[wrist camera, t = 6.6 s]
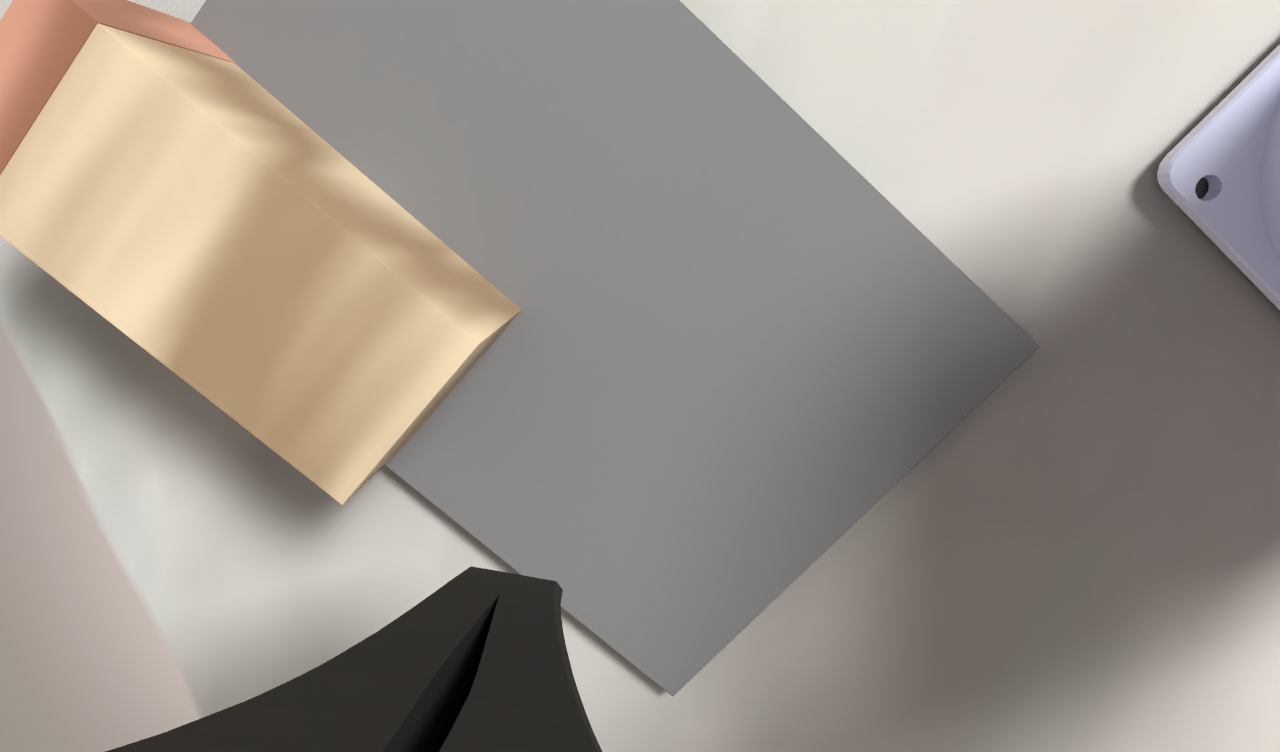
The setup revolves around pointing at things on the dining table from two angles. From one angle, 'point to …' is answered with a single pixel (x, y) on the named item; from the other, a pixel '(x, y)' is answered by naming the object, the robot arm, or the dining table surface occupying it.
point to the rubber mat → (640, 298)
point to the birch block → (230, 237)
